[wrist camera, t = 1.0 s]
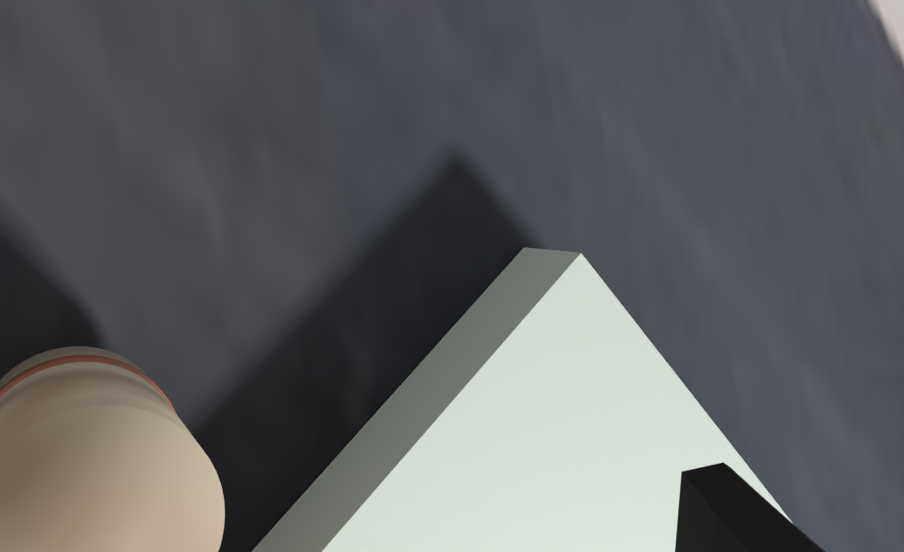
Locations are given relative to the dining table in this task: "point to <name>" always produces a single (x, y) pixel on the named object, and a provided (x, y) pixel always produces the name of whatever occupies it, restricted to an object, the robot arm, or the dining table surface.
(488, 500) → the board
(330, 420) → the dining table surface
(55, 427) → the peg
